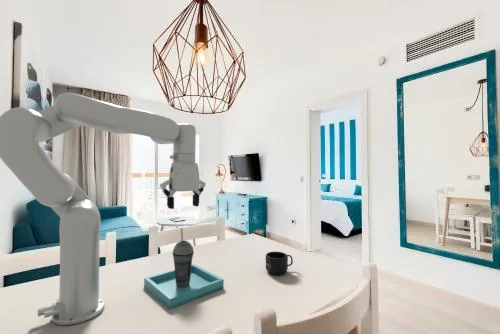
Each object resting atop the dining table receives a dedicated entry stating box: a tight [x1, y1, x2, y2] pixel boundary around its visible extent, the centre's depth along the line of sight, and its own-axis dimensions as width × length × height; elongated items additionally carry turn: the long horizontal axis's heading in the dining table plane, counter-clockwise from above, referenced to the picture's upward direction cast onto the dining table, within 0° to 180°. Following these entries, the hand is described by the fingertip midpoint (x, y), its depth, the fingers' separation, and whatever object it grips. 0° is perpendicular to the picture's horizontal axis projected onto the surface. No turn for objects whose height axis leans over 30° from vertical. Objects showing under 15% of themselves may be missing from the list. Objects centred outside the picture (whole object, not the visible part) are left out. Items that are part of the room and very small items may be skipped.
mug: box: [265, 251, 294, 276], centre depth 104 cm, size 12×9×7 cm
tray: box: [143, 263, 225, 310], centre depth 90 cm, size 20×20×3 cm
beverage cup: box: [172, 227, 194, 288], centre depth 89 cm, size 7×7×20 cm
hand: (183, 207), depth 90 cm, fingers open, 9 cm apart
